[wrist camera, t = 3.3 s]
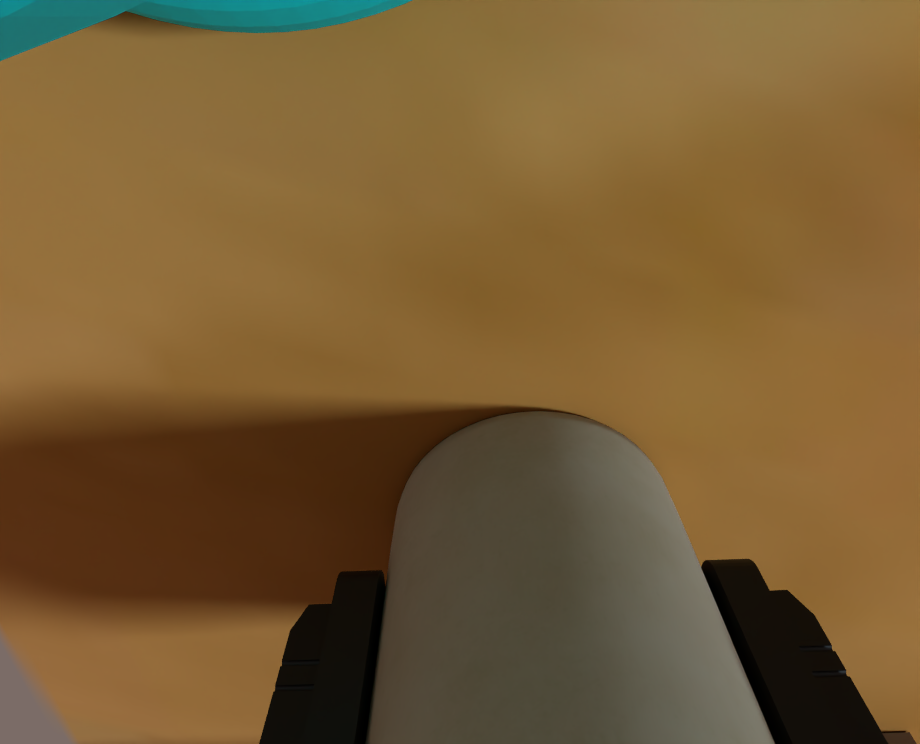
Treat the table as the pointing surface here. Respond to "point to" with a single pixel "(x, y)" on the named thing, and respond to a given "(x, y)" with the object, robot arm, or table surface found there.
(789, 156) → the table surface
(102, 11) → the turquoise spool
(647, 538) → the candle
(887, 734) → the bridge
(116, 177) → the table surface
